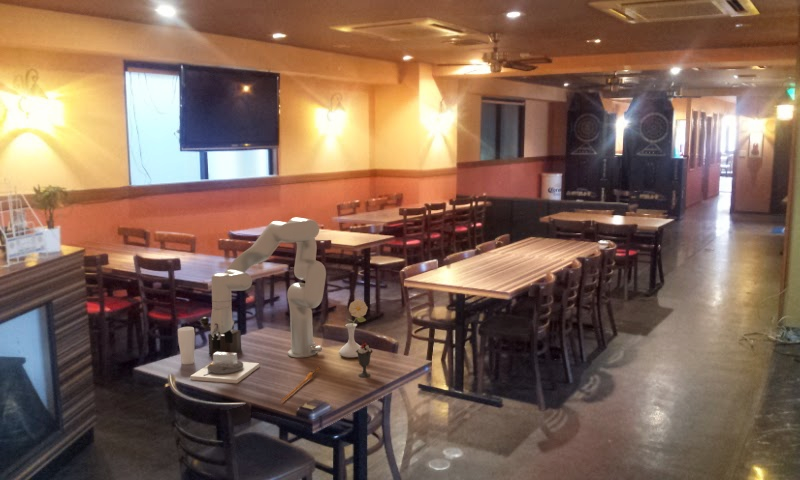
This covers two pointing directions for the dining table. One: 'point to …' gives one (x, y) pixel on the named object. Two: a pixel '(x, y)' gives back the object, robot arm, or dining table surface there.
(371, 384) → the dining table surface
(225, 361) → the dial
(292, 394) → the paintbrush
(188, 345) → the drinking glass
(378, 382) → the dining table surface
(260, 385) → the dining table surface
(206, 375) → the dial plate
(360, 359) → the sundae
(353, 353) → the flower in vase
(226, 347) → the coffee grinder
